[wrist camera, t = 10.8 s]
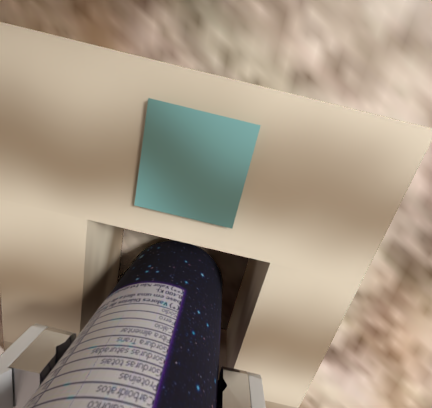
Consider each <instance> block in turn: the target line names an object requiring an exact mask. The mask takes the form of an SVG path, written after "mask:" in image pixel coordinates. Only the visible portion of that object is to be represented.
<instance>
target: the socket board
mask: <svg viewBox="0 0 432 408" xmlns="http://www.w3.org/2000/svg"><path fill="white" fill-rule="evenodd" d="M431 141H432V128H429V127H425V126H421V125H416V124H412V123H408V122H404V121H400V120H396V119H392V118H388V117H384V116H380V115H376V114H372V113H368V112H364V111H360V110H356V109H352V108H348V107H344V106H340V105H335V104H331V103H327V102H323V101H319V100H315V99H311V98H307V97H303V96H299V95H295V94H291V93H287V92H283V91H279V90H275V89H271V88H267V87H263V86H259V85H254V84H250V83H246V82H242V81H238V80H234V79H230V78H226V77H222V76H218V75H214V74H210V73H206V72H202V71H198V70H194V69H190V68H186V67H182V66H178V65H173V64H169V63H165V62H161V61H157V60H153V59H149V58H145V57H141V56H137V55H133V54H129V53H125V52H121V51H117V50H113V49H109V48H105V47H101V46H97V45H92V44H88V43H84V42H80V41H76V40H72V39H68V38H64V37H60V36H56V35H52V34H48V33H44V32H40V31H36V30H32V29H28V28H24V27H20V26H15V25H11V24H7V23H3V22H0V295H1V311H2V327H3V343H4V351H5V350H7V349H8V348H9V347H10V346H11V345H12V344H13V343H14V342H15V341H16V340H17V339H18V338H19V337H20V336H21V335H22V334H23V333H24V332H25V331H26V330H28V329H29V328H30V327H31V326H33V325H34V324H36V323H37V324H41V325H45V326H49V327H53V328H57V329H61V330H65V331H69V332H72V333H76V337H77V336H78V335H79V333H80V332H81V331H82V329H83V328H84V327H85V325H86V324H87V323H88V321H89V320H90V319H91V318H92V316H93V315H94V314H95V312H96V311H97V310H98V308H99V307H100V306H101V304H102V303H103V302H104V300H105V299H106V298H107V296H108V295H109V294H110V292H111V291H112V290H113V289H114V287H115V286H116V285H117V281H118V273H119V264H120V256H121V248H122V239H123V231H124V228H125V229H129V230H133V231H137V232H142V233H146V234H150V235H154V236H159V237H163V238H167V239H171V240H175V241H180V242H184V243H188V244H192V245H197V246H201V247H205V248H209V249H214V250H218V251H222V252H226V253H230V254H235V255H239V256H243V257H247V258H249V260H248V263H247V266H246V269H245V273H244V276H243V279H242V282H241V285H240V289H239V292H238V295H237V298H236V301H235V305H234V308H233V311H232V314H231V317H230V321H229V324H228V327H227V330H224V329H221V331H220V353H219V373H220V370H221V367H222V366H224V367H229V368H233V369H238V370H243V371H247V372H250V373H255V374H259V375H260V376H261V378H262V384H263V391H264V398H265V405H266V408H299V406H300V404H301V402H302V400H303V398H304V396H305V394H306V392H307V390H308V388H309V386H310V384H311V382H312V380H313V378H314V376H315V374H316V372H317V370H318V368H319V366H320V364H321V362H322V360H323V358H324V356H325V354H326V352H327V350H328V348H329V346H330V344H331V342H332V340H333V338H334V336H335V334H336V332H337V330H338V328H339V326H340V324H341V322H342V320H343V318H344V316H345V314H346V312H347V310H348V308H349V306H350V304H351V302H352V300H353V298H354V296H355V294H356V292H357V290H358V288H359V286H360V284H361V282H362V280H363V278H364V276H365V274H366V272H367V270H368V268H369V266H370V264H371V262H372V260H373V258H374V256H375V254H376V252H377V250H378V248H379V246H380V244H381V242H382V240H383V238H384V236H385V234H386V232H387V230H388V228H389V226H390V224H391V222H392V220H393V218H394V216H395V214H396V212H397V210H398V207H399V205H400V203H401V201H402V199H403V197H404V195H405V193H406V191H407V189H408V187H409V185H410V183H411V181H412V179H413V177H414V175H415V173H416V171H417V169H418V167H419V165H420V163H421V161H422V159H423V157H424V155H425V153H426V151H427V149H428V147H429V145H430V143H431ZM218 380H219V375H218Z"/></svg>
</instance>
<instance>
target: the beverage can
mask: <svg viewBox="0 0 432 408" xmlns="http://www.w3.org/2000/svg"><path fill="white" fill-rule="evenodd" d="M222 286H223V283H222V276H221V272H220V270H219V268H218V266H217V264H216V263H215V261H214V260H213V259H212V258H211V257H210V256H209V255H208V254H207V253H206V252H205V251H203V250H202V249H200V248H198V247H197V246H194V245H192V244H188V243H184V242H180V241H164V242H160V243H156V244H154V245H152V246H150V247H148V248H146V249H145V250H144V251H143V252H141V253H140V254H139V256H138V257H137V258H136V260H135V261H134V262H133V263H132V265H131V266H130V267H129V269H128V270H127V271H126V273H125V274H124V275H123V277H122V278H121V279H120V281H119V282H118V283H117V285H116V286H115V287H114V289H113V290H112V291H111V292H110V294H109V295H108V296H107V298H106V299H105V300H104V302H103V303H102V304H101V306H100V307H99V308H98V310H97V311H96V312H95V314H94V315H93V316H92V318H91V319H90V320H89V321H88V323H87V324H86V325H85V327H84V328H83V329H82V331H81V332H80V333H79V335H78V336H77V337H76V339H75V340H74V341H73V343H72V344H71V345H70V347H69V348H68V349H67V350H66V352H65V353H64V354H63V356H62V357H61V358H60V360H59V361H58V362H57V364H56V365H55V366H54V368H53V369H52V370H51V372H50V373H49V374H48V376H47V377H46V378H45V380H44V381H43V382H42V383H41V385H40V386H39V387H38V389H37V390H36V391H35V393H34V394H33V395H32V397H31V398H30V399H29V401H28V402H27V403H26V405H25V406H24V407H23V408H217V397H218V375H219V353H220V331H221V308H222Z"/></svg>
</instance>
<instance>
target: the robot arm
mask: <svg viewBox="0 0 432 408" xmlns="http://www.w3.org/2000/svg"><path fill="white" fill-rule="evenodd" d="M75 339H76V333H72V332H69V331H65V330H61V329H57V328H53V327H49V326H45V325H41V324H37V323H36V324H34V325H33V326H31V327H30V328H29V329H28V330H26V331H25V332H24V333H23V334H22V335H21V336H20V337H19V338H18V339H17V340H16V341H15V342H14V343H13V344H12V345H11V346H10V347H9V348H8V349H7V350H5V351H4V352H3V353H2V354H1V355H0V408H23V407H24V406H25V405H26V403H27V402H28V401H29V399H30V398H31V397H32V395H33V394H34V393H35V391H36V390H37V389H38V387H39V386H40V385H41V383H42V382H43V381H44V380H45V378H46V377H47V376H48V374H49V373H50V372H51V370H52V369H53V368H54V366H55V365H56V364H57V362H58V361H59V360H60V358H61V357H62V356H63V354H64V353H65V352H66V350H67V349H68V348H69V347H70V345H71V344H72V343H73V341H74V340H75ZM217 408H266V405H265V398H264V391H263V384H262V378H261V376H260V375H259V374H255V373H250V372H247V371H243V370H238V369H233V368H229V367H224V366H222V367H221V370H220V373H219V380H218V397H217Z"/></svg>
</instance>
